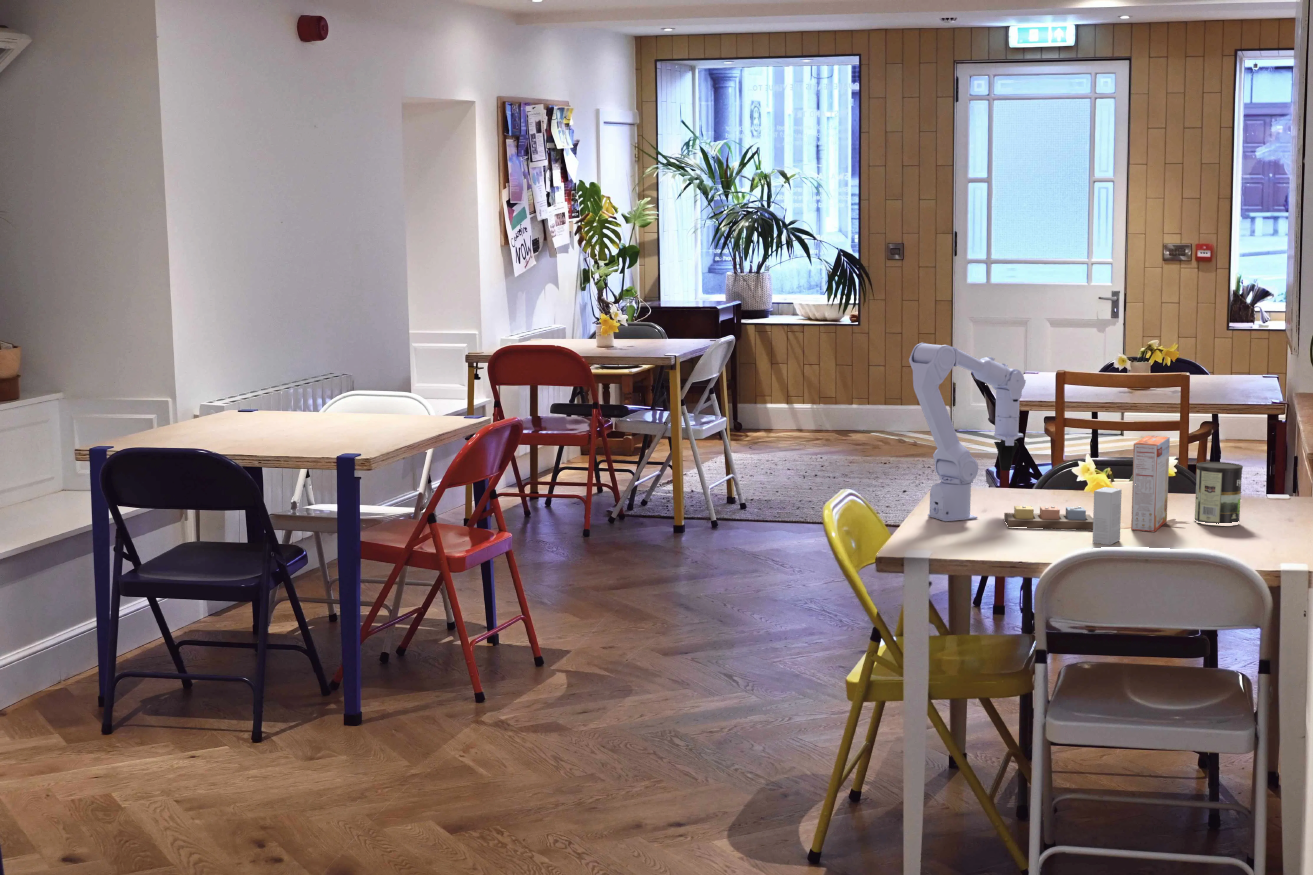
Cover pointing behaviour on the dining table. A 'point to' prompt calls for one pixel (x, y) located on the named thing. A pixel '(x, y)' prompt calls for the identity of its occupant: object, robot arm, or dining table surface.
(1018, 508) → the yellow cube
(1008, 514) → the brown flat board
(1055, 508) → the two dot tile
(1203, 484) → the coffee can
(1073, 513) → the light blue cube
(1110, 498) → the skincare box
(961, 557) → the dining table surface
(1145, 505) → the cracker box
